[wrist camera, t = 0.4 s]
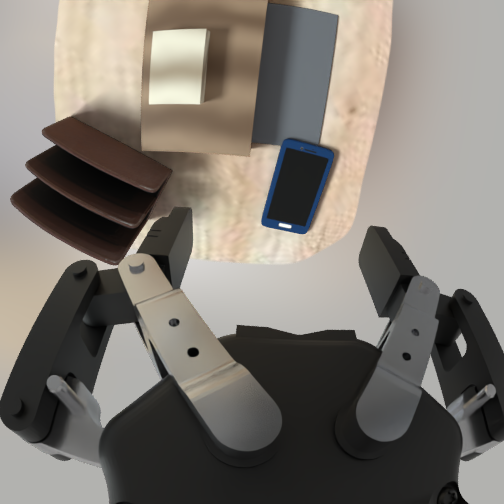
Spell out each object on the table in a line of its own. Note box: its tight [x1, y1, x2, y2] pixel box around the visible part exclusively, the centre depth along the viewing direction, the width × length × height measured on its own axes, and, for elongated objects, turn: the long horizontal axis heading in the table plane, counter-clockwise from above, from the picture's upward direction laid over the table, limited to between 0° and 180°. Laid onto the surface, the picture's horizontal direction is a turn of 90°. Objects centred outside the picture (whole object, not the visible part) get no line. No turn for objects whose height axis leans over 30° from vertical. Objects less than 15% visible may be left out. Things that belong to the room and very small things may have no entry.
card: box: [149, 29, 210, 104], centre depth 26 cm, size 9×6×2 cm, turn 174°
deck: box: [141, 0, 268, 157], centre depth 29 cm, size 22×14×4 cm, turn 174°
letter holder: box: [10, 117, 172, 265], centre depth 33 cm, size 10×20×14 cm, turn 57°
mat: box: [251, 3, 338, 146], centre depth 31 cm, size 20×9×1 cm, turn 174°
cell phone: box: [261, 139, 334, 234], centre depth 40 cm, size 7×14×1 cm, turn 168°
